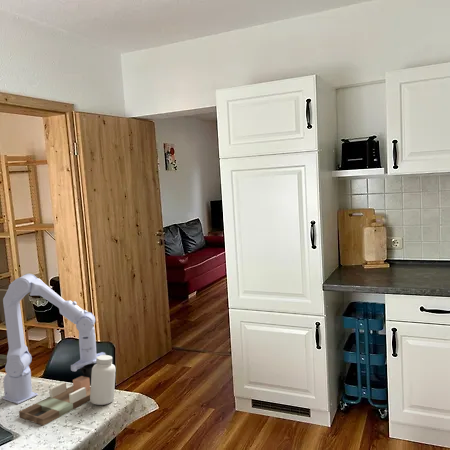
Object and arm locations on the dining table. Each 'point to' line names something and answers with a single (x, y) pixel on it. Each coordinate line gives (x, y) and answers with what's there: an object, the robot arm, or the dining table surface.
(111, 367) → the pill bottle
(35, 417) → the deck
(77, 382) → the block
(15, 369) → the robot arm
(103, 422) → the dining table surface
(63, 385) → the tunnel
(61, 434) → the dining table surface
